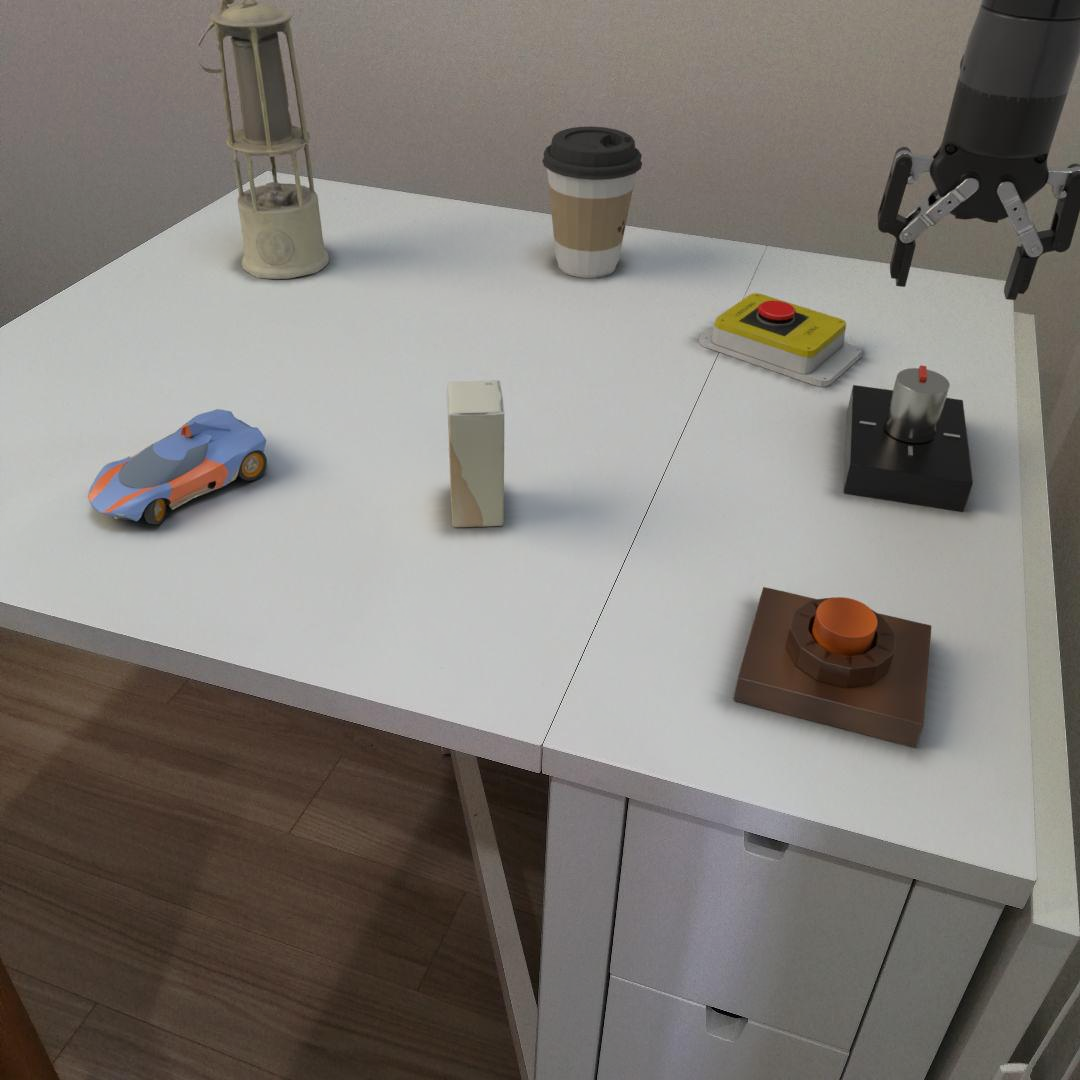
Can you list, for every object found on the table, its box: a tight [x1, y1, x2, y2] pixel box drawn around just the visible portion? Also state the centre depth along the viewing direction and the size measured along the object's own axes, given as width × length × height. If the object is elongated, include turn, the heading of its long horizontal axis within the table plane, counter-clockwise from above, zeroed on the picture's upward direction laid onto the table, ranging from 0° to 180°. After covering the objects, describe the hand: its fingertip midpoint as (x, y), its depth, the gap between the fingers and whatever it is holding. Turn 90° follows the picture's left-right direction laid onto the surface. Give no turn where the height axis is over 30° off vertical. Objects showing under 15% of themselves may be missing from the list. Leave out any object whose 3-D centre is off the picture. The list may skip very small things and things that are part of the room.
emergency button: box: [698, 292, 863, 388], centre depth 110 cm, size 9×4×15 cm
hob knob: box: [884, 364, 950, 443], centre depth 92 cm, size 4×4×5 cm
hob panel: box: [842, 384, 974, 512], centre depth 95 cm, size 14×10×3 cm
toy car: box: [87, 408, 268, 525], centre depth 88 cm, size 8×15×5 cm, turn 138°
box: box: [446, 379, 505, 528], centre depth 85 cm, size 5×4×11 cm
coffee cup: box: [541, 125, 643, 279], centre depth 123 cm, size 11×11×15 cm
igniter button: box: [812, 596, 878, 656], centre depth 71 cm, size 4×4×2 cm
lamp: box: [197, 0, 330, 280], centre depth 118 cm, size 10×13×30 cm
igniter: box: [733, 586, 933, 748], centre depth 73 cm, size 12×10×4 cm
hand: (954, 289), depth 86 cm, fingers open, 8 cm apart
